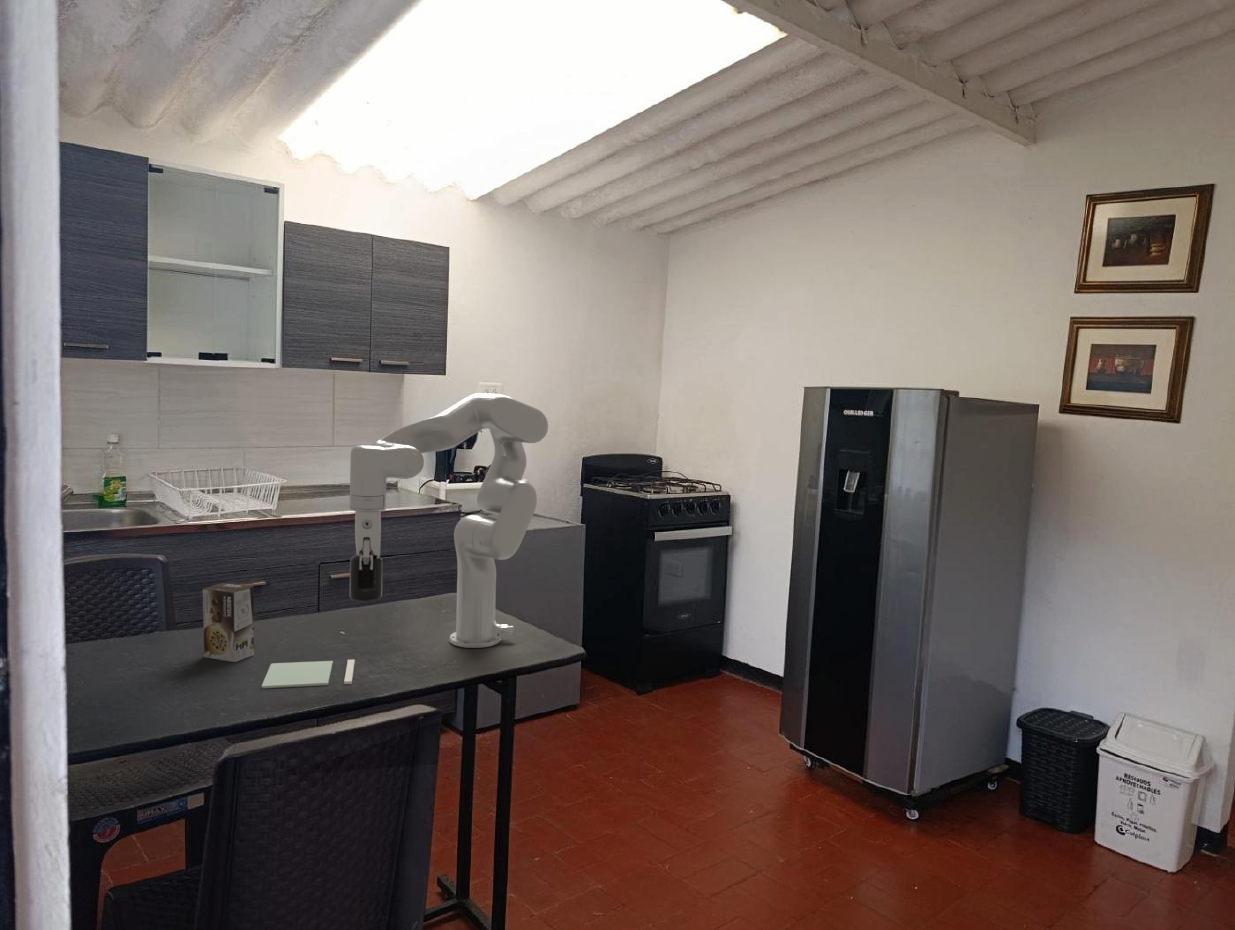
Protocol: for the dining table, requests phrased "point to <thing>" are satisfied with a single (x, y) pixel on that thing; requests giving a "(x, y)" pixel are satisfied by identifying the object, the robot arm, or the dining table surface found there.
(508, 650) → the dining table surface
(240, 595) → the coffee box
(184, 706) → the dining table surface
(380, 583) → the supplement bottle
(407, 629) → the dining table surface
